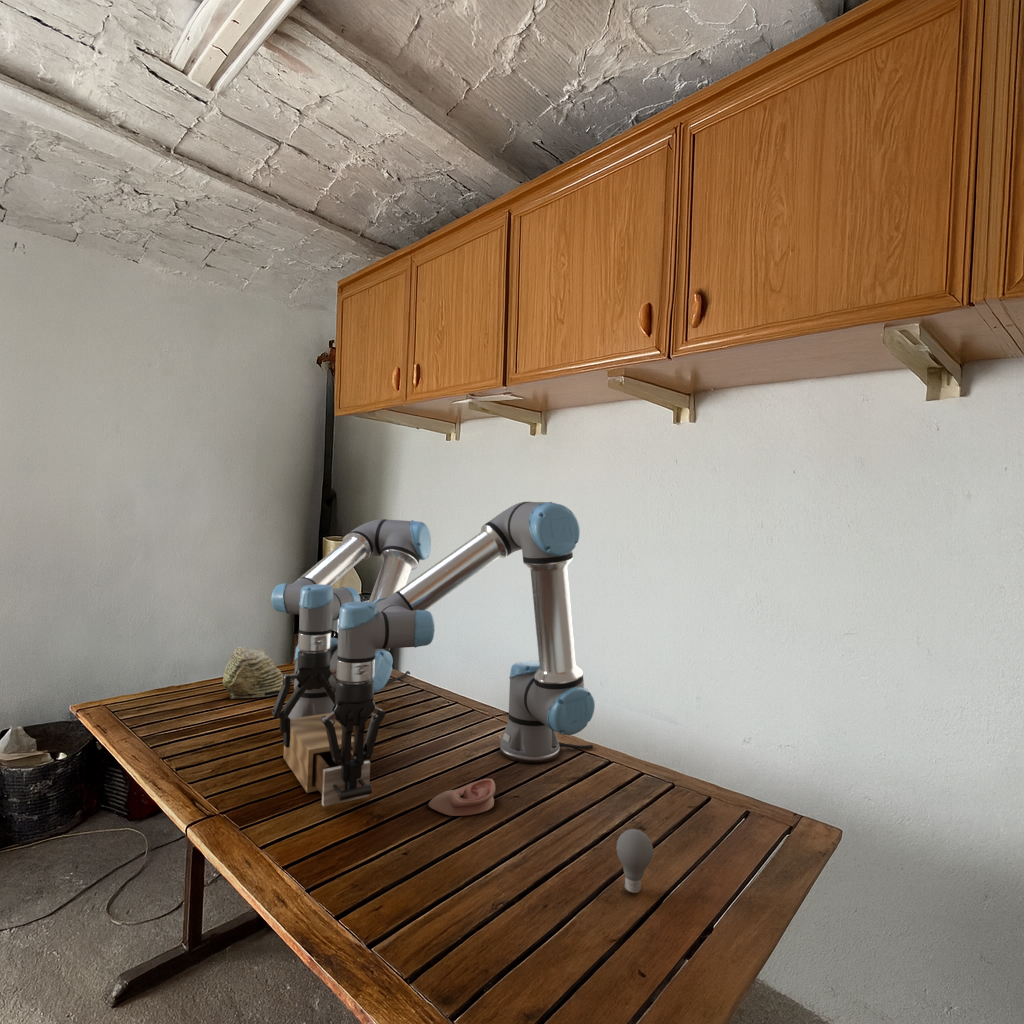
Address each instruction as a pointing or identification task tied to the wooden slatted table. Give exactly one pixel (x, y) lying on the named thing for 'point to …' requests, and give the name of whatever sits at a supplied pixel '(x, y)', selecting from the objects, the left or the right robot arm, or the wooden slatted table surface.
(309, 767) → the cabinet
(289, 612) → the left robot arm
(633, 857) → the light bulb
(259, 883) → the wooden slatted table surface
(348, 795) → the drawer
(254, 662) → the fossil
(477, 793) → the anatomical model
